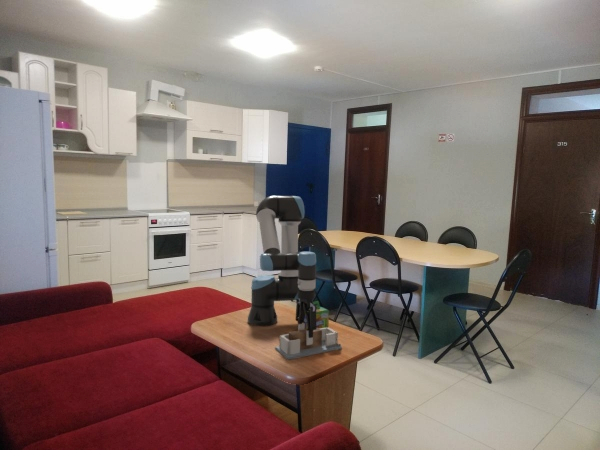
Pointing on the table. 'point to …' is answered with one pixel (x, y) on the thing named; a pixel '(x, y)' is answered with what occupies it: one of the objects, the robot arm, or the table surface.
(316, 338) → the slat
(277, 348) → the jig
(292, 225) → the robot arm
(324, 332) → the end cap
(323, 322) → the chalk box
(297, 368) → the table surface
